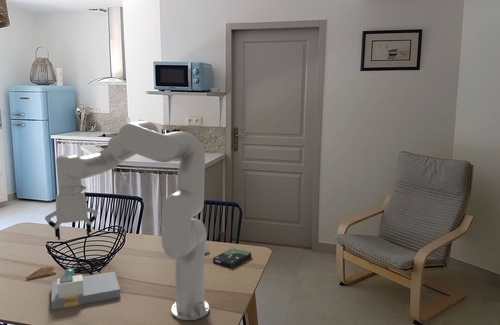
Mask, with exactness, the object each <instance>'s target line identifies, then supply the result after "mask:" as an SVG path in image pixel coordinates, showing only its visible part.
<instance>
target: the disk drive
mask: <svg viewBox="0 0 500 325" xmlns="http://www.w3.org/2000/svg"><path fill="white" fill-rule="evenodd" d="M251 258H252V252H249V251H246V250H243V249H242V250H240V249H238V248H236V247H234V248H231V249H228V250H226V251H225V252H222V253H221V254H218V255H216V256H214V257H213V258H212V262H213V264H216V265H219V266H223V267H224V268H225V267H226V268H229V269H233V268H235V267H236V266H239V265H241V264H242V263H244V262H246V261H247V259H248V260H249V259H251ZM245 260H246V261H245Z"/></svg>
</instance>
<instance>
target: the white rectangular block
mask: <svg viewBox="0 0 500 325" xmlns="http://www.w3.org/2000/svg"><path fill="white" fill-rule="evenodd" d="M56 281H57V288H58V298H64V297H70V296H75V295H81V294H84V289H83V274H77V275H76V274H75V275H74V276H70V277H65V276H63V277H60V278H57V280H56Z"/></svg>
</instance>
